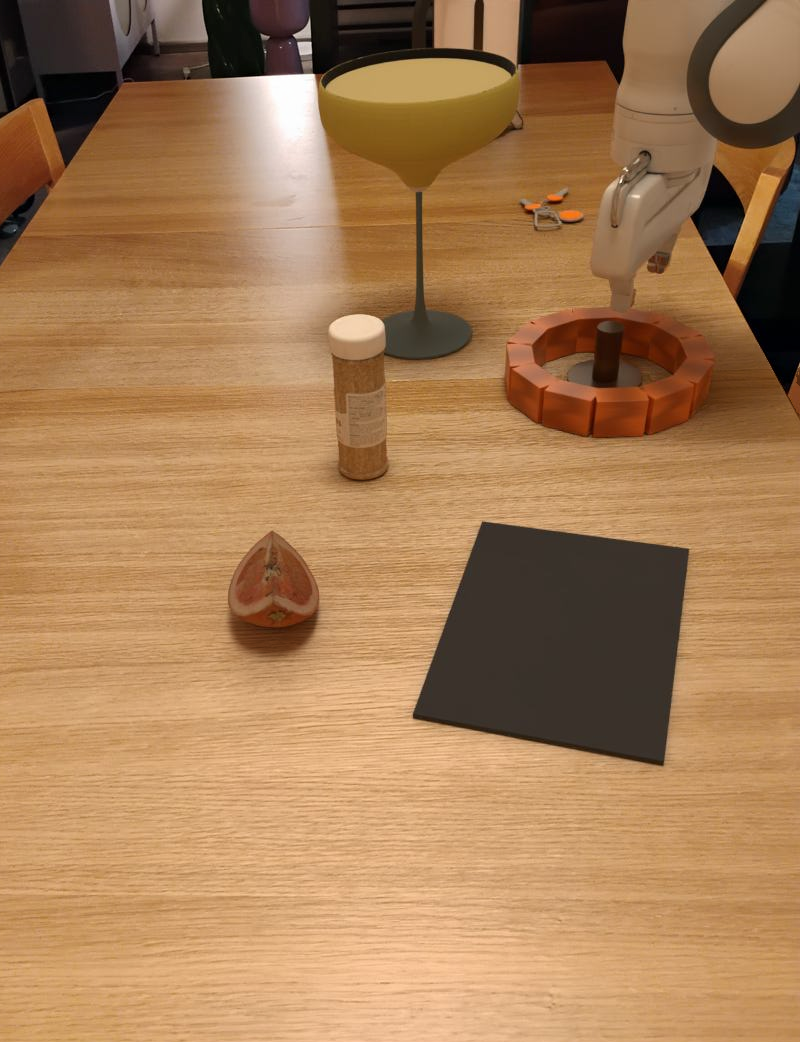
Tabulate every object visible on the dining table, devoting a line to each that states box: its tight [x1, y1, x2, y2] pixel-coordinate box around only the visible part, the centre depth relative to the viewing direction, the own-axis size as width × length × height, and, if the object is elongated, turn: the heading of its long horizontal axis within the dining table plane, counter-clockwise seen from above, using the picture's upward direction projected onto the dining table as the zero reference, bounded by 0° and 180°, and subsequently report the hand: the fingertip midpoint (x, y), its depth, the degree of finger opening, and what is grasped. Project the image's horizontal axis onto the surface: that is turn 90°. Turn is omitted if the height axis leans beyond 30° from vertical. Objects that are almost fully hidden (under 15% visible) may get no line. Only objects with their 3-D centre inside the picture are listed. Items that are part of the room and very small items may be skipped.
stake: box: [565, 321, 644, 388], centre depth 96 cm, size 7×7×6 cm
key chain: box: [518, 187, 585, 229], centre depth 130 cm, size 13×7×1 cm, turn 179°
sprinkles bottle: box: [327, 313, 390, 481], centre depth 86 cm, size 5×5×13 cm
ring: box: [504, 306, 716, 438], centre depth 97 cm, size 18×18×4 cm
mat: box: [412, 521, 690, 766], centre depth 73 cm, size 22×16×1 cm
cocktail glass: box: [317, 47, 521, 360], centre depth 100 cm, size 18×18×25 cm
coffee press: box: [411, 0, 525, 130], centre depth 146 cm, size 17×16×30 cm
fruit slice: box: [227, 530, 320, 628], centre depth 75 cm, size 8×7×5 cm
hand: (640, 289), depth 98 cm, fingers open, 8 cm apart
